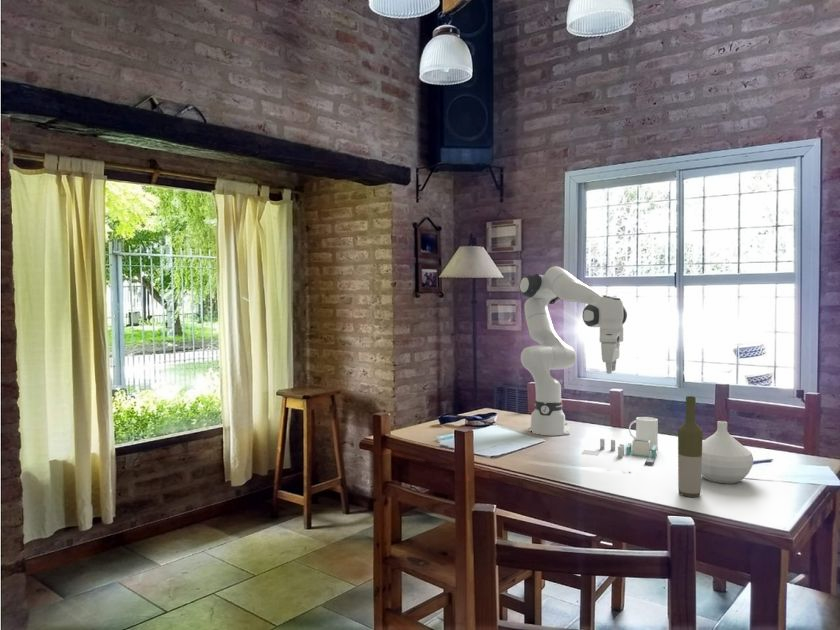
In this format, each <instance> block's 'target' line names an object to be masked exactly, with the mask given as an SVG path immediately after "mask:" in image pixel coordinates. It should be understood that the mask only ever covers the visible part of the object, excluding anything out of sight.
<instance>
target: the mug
mask: <svg viewBox="0 0 840 630" xmlns="http://www.w3.org/2000/svg"><path fill="white" fill-rule="evenodd" d="M658 423H659V420H658V418H655V417H651V416H637V417H636V418H635V420H633V421H631V422H630V423H629V426H628V432H629V435H630V436H631V437H632V439H635V438H638V439H649V440H650V452H652V448H653V446H654V445H655V446H656V451H658V450H659V447H658V436H659V434H658V431H659V427H658V425H659V424H658ZM633 424H635V435H634V434H633V433H632V431H631V427H632V425H633Z"/></svg>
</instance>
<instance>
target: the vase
mask: <svg viewBox="0 0 840 630" xmlns="http://www.w3.org/2000/svg"><path fill="white" fill-rule="evenodd" d="M753 466H754V457H753V454H752V452H751V450H749V449H748V448H746V446H744V445H743V444H741V443H740V442H739V441H738V440H737V439H736V438H734V437H733V436H732V435H731V434H730V433H729V432H728V422H727V421H725V420H719V421H717V425H716V431H715V432H714V433H713V434H712V435H710V436H709V437H707V438H705V439H704V440H702V468H701V477H703V478H704V479H705V480H707V481H710V482H713V483H719V484H737V483H739V482H741V481H742V480H744V479H745V478H746V476H748V475H749V474H750V471H751V470H752V468H753Z"/></svg>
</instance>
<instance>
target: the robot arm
mask: <svg viewBox="0 0 840 630" xmlns="http://www.w3.org/2000/svg"><path fill="white" fill-rule="evenodd" d="M518 287H519V291H520V293H521V295H522V296H524V297H527V298H528V299H526V301H525V302H524V317H525V321H526V326H527V329H528V333H529V336H530V339H532V341H535V342H537V343H538V344H539V345H538V344H537V345H531V346H528V347H527V346H526V347H525V348H523V349H522V351H521V353H520V363H521V365H522V366H523V367H524V369H525V370H527V371H528V372H529V373H530V374H531V376H532V378H533V380H534V381H533V382H534V388H535V389H534V390H535V400H534V410H533V411H532V412H531V413H530V414H531V416H530V427H526V429H527V430H529V431H528V432H531V431H532V432H531V433H532V434H535V433H536V434H535V435H539V434H540V435H541V436H562V435H566V436H567V435H570V433H571V426H570V425H568V423H567V422H566V414H565V413H564V411H563V400H562V385H561V383H560V381H559V380H557V379H556V378H554V377H552V375H551V370H554V371H555V370H557V371H558V370H565V369H569V368H572V367H573V366H575V364H576V361H577V353H576V350H575V349H574V348H573V347H572V346H570V345H569V344H567V343H566V342H565V341H564V340H562V338H561V336H559V335H558V333H557V332H556V330H555V328H554V324H553V322H552V321H553V320H552V318H551V314H550V311H549V304H550V305H554V304H555V303H556V302H557V301H559V300H560V299H561V300H563V301H565V302H568V303H579V304H586V306H585V307H584V308H583V311H582V321H583V323H584V324H585V325H586V326H587V327H590V328H599V343H600V347H601V348H600V349H601V360H602V362H603V363H605V368H606V374H608V375H610V374H612V372H615V371H616V366H617V360H618V359H619V358H620V346H621V345H620V344H621V342H624V326H623V325H624V324H625V323H626V321H627V317H628V312H627V310H626V308H625V306H624V304H623V300H622V298H621V297H620V296H618V295H611V294H605V295H604V294H602V293H601V292H599V291H598V290H596V289H594V288H592V287H591V286H589V285H587V284H586V283H583V282H582V281H581V280H580V279H578V278H576V277H575V276H574V275H573V274H572V273H570V272H569V271H567V270H566V269H564V268H562V267H560V266H556V265H555V266H551V267H550V268H548V269H547V270H546V272H545V273H544V274H539V273H531V274H526V275H523V277H521V279H520V282H519V286H518Z"/></svg>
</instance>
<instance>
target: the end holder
mask: <svg viewBox="0 0 840 630" xmlns="http://www.w3.org/2000/svg"><path fill="white" fill-rule="evenodd" d="M625 451H626V452H625V453H626V456H636V457H643V458H647V457H651V458H655V456H656V453H657V450H656V446H655V445H654V446H653V448H652V451H650V455H649V456H646V455H637V454H632V442H628V444H627V445H626V447H625ZM651 452H652V453H651ZM656 457H657V456H656Z"/></svg>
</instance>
